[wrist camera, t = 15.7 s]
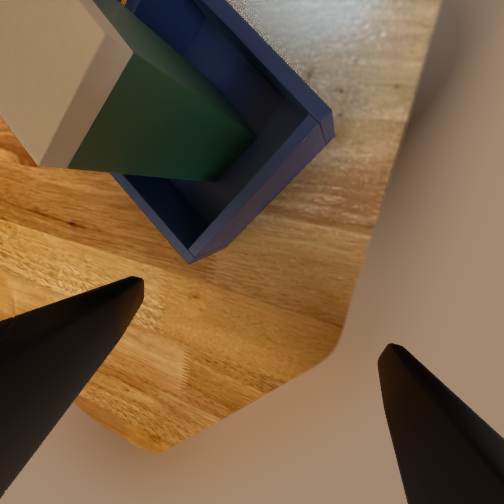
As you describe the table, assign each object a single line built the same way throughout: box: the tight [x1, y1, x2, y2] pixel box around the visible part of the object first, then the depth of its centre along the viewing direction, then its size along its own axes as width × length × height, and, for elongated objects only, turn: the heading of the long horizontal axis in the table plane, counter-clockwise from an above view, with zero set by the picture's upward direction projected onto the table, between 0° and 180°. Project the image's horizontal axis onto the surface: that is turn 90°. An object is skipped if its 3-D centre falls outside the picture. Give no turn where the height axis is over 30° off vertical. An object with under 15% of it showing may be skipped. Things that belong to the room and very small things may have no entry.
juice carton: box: [0, 0, 257, 183], centre depth 14 cm, size 5×5×13 cm
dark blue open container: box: [110, 0, 335, 264], centre depth 18 cm, size 14×13×6 cm
